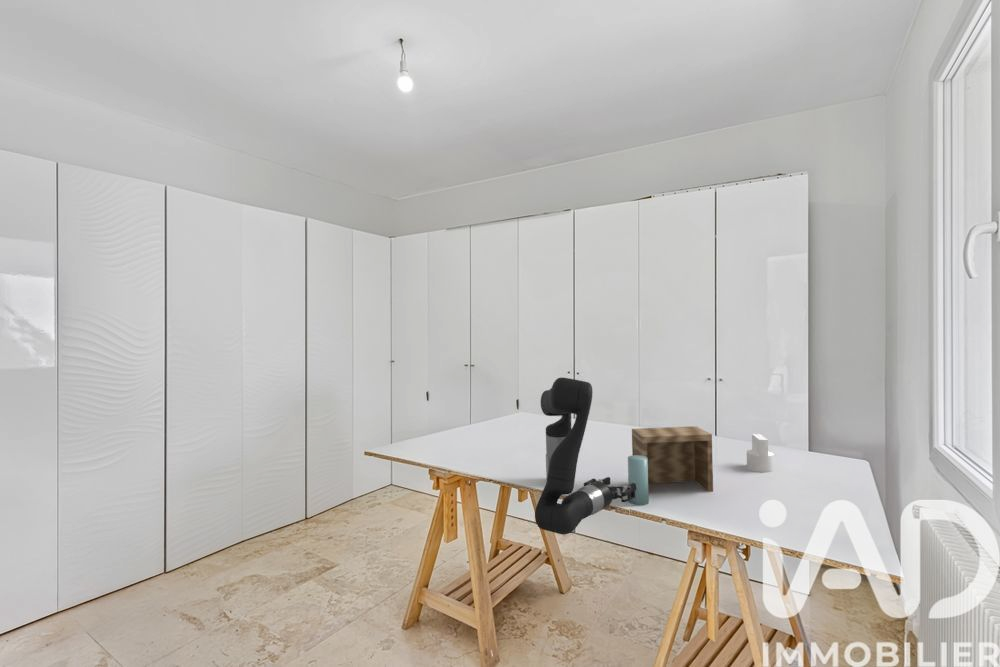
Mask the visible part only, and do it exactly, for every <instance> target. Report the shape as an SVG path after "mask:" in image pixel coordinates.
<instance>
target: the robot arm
mask: <svg viewBox="0 0 1000 667" xmlns="http://www.w3.org/2000/svg"><path fill="white" fill-rule="evenodd" d="M592 401H593V386H592V384H591V383H590V382H588V381H585V380H579V379H573V378H569V377H558V378H556V379H555V380H554V382H553V383H552V386H551V388H550V389H547V390H546V389H545V391H543V392H542V394H541V397H540V408H541V411H542V413H543V414H544V415H545V416H547V417H548V416H549V417H560V416H561V417H560V419H559V420H557V421H555V422H554V423H551V424H548V425H547V426H546V427H545V446H546V447H545V452H546V453H545V467H546V468H545V474H546V483H545V485H544V486H543V487H544V488H543V490H542V492H541V494H540V497H539V499H538V502H537V504H536V507H535V511H534V520H535V523H536V525H537V527H538V528H539V529H541V530H543V531H548V532H551V533H555V534H559V535H569V534H571V533H573V532H574V531H575V530H576V528H577V527H578V526H579V524H580V523H581V522H582V520H584V519H586V518H588V517H590V516H594V515H595V514H597V513H599V512H601V511H602V510H604V509H606V508H608V507H609V506H610V505H611V503H612V501H614V500H617V499H620V500H621V503H627V502H629V500H631V499H633V498H635V491H636V484H635V483H631V484H630V485H629V484H628V485H624V486H623V485H621V484H617V485H612V484H611V477H610V476H607V477H605V478H603V479H601V478H600V479H598V480H597V479H596V478H591V479H590V480H587V481H585V482H584V483H583V486H582V487H580V488H579V489H577V490H576V491H574V488H575V481H576V473H577V464H578V461H579V460H578V459H579V454H580V450H581V446H582V444H583V440H584V436H585V431H586V428H587V423H588V418H589V415H590V411H591V406H592ZM572 414H573V415H576V416H575V420H574V423H573V424H572ZM564 495H566V496H565V497H564V498H563V499H562V500H561V503H560V502H559V503H558V501H559V499H560V498H561V496H564Z"/></svg>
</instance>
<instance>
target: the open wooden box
mask: <svg viewBox="0 0 1000 667" xmlns="http://www.w3.org/2000/svg"><path fill="white" fill-rule="evenodd" d="M631 447H632V448H631V449H632V450H631V451H632V455H641V456H645V457H647V458H648V484H652V483H653V484H654V483H658V484H659V483H678V482H679V483H680V482H682V483H683V482H696V483H697V484H699V485H700V486H701V487H702V488H703V489H705V490H706V491H707V492H709V493H711V492H714V475H713V474H714V473H713V471H714V470H713V467H714V466H713V463H714V462H713V434H712V433H710V432H709V431H706V430H705V429H702V428H700V427H699V426H695V425H694V426H671V427H667V426H665V427H645V428H643V427H642V428H640V427H639V428H631ZM632 455H631V456H632Z"/></svg>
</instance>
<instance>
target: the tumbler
mask: <svg viewBox="0 0 1000 667" xmlns="http://www.w3.org/2000/svg"><path fill="white" fill-rule="evenodd" d="M627 471H628V472H627V475H628V478H627V479H628V485H630V484H631V483H635V484H636V491H635V498H633V499H631V500H629V501H628V502H629V503H630V504H632V505H635V506H646V505H648V504H649V502H650V501H649V500H650V499H649V498H650V497H649V483H648V458H647V457H645V456H641V455H629V456H627Z"/></svg>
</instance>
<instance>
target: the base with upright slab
mask: <svg viewBox="0 0 1000 667" xmlns="http://www.w3.org/2000/svg"><path fill="white" fill-rule="evenodd" d="M751 444H752V445H751V449H748V450H747V451H746V468H747V470H750V471H753V472H757V473H766V474H767V473H773V472H775V454H774V452H772V451H769V439H768V438H766V437H765V436H764V435H762V434H761V433H751Z"/></svg>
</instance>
